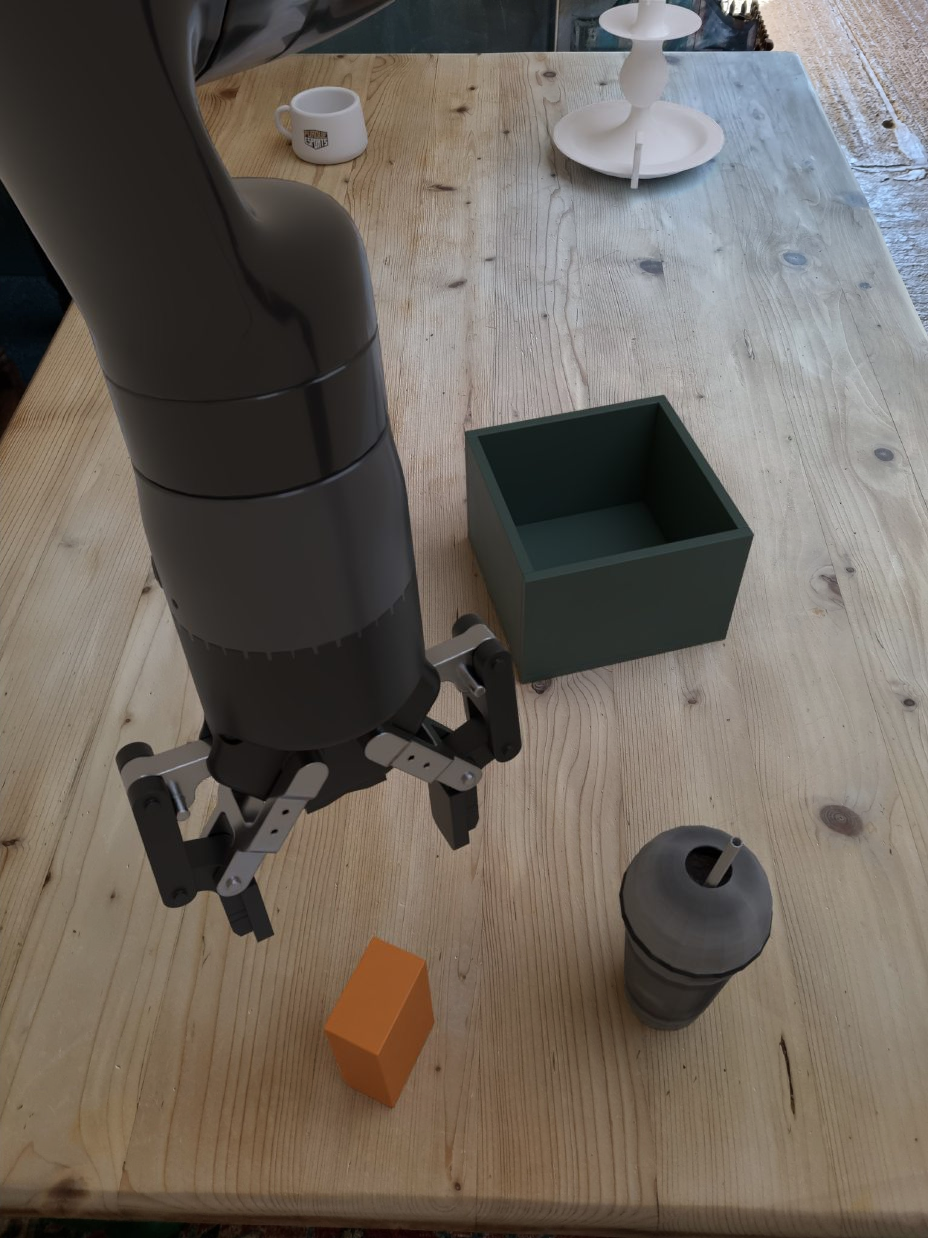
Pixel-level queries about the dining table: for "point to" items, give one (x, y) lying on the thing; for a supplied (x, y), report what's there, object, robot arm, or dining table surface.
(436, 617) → the dining table surface
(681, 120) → the candlestick
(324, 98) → the mug
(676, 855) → the beverage cup
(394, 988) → the block
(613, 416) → the open box
